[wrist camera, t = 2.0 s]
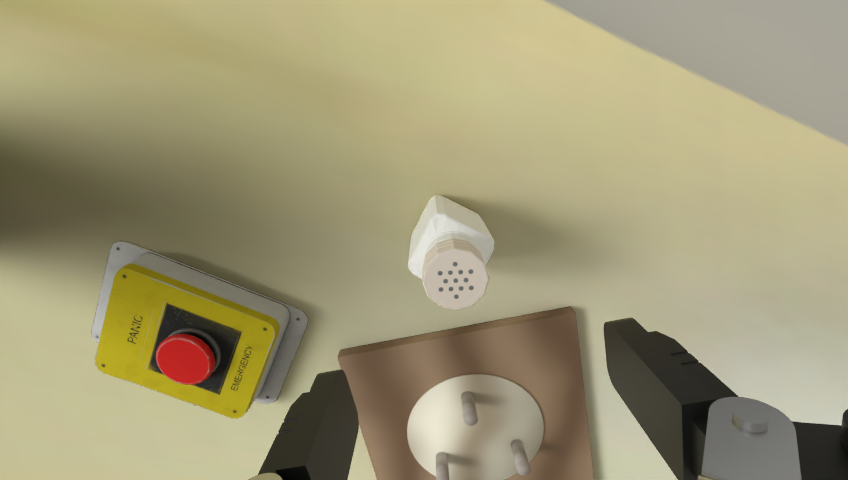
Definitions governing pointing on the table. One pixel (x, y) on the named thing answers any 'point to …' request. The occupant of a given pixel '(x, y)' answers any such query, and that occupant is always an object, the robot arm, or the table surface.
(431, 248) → the pepper shaker
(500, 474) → the pin board
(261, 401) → the emergency button
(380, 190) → the table surface
